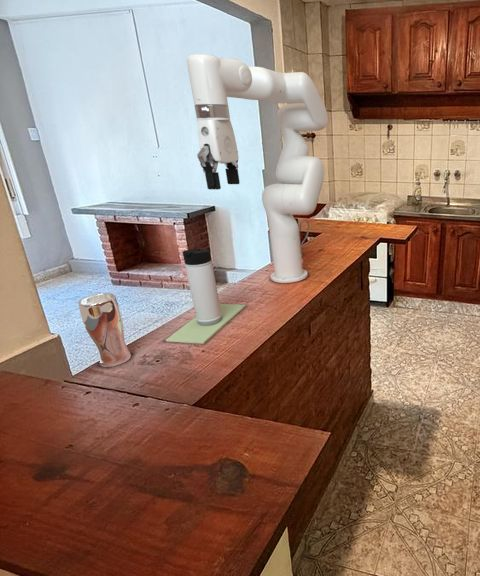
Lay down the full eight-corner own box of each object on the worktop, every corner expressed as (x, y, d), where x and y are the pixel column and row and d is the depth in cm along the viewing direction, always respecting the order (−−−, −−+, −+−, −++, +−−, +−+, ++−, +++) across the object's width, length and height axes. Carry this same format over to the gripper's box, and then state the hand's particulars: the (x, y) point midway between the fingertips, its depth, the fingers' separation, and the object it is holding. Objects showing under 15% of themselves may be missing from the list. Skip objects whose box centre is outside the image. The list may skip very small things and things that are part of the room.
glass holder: (276, 256, 160) (272, 220, 155) (304, 248, 170) (301, 214, 165) (289, 260, 155) (285, 223, 150) (317, 252, 165) (314, 216, 160)
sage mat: (213, 304, 117) (213, 303, 117) (245, 306, 116) (245, 304, 116) (165, 341, 97) (165, 339, 97) (203, 343, 96) (203, 342, 95)
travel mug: (191, 325, 103) (175, 252, 96) (206, 314, 109) (192, 244, 102) (212, 327, 102) (198, 253, 95) (227, 316, 108) (214, 245, 101)
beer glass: (89, 365, 87) (68, 303, 82) (118, 349, 94) (101, 290, 88) (112, 370, 85) (92, 307, 80) (140, 354, 91) (123, 294, 86)
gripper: (207, 112, 87) (220, 191, 94) (244, 114, 103) (253, 182, 109) (176, 113, 88) (191, 191, 95) (217, 115, 104) (227, 182, 110)
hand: (224, 186), depth 102 cm, fingers open, 9 cm apart
